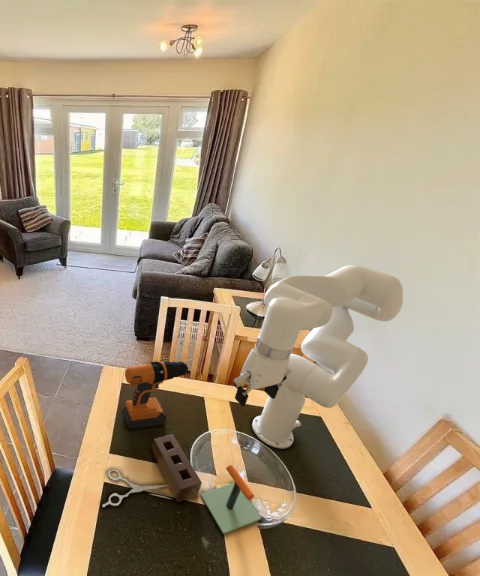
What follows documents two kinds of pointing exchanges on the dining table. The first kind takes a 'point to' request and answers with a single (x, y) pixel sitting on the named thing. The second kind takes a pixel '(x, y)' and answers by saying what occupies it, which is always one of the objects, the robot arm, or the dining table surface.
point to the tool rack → (176, 468)
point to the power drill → (149, 391)
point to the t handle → (237, 488)
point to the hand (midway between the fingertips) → (254, 398)
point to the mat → (225, 517)
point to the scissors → (135, 489)
